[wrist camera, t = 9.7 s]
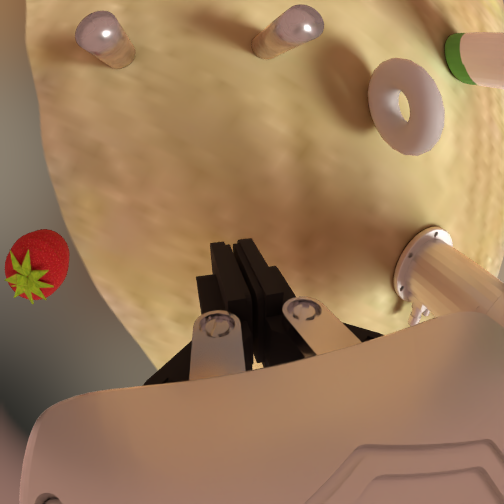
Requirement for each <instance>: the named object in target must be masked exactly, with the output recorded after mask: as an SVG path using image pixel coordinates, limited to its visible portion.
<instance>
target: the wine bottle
mask: <svg viewBox="0 0 504 504" xmlns="http://www.w3.org/2000/svg"><path fill="white" fill-rule="evenodd" d="M445 57H446V60H447V64H448V66H449V68H450V70H451V72H452V73H453V75H454V76H455V77H456V78H457V79H458V80H460V81H461V82H463V83H466V84H472V85H480V86H486V87H494V88H500V89H504V33H488V32H481V33H456V34H453V35H451V36H449V37H448V39H447V40H446V43H445Z"/></svg>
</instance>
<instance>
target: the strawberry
mask: <svg viewBox="0 0 504 504" xmlns="http://www.w3.org/2000/svg"><path fill="white" fill-rule="evenodd" d="M68 264H69V249H68V246H67V243H66V242H65V240H64V239H63V238H62V236H61V235H59V234H58V233H56V232H54V231H52V230H47V229H43V230H42V229H41V230H37V231H34V232H31V233H28V234H26V235H24V236H22V237H21V238H19V239H18V240H17V241H16V242H15V244H14V245H13V247H12V248H11V250H10V252H9V254H8V256H7V259H6V262H5V275H6V279H5V281H7V282H8V283H9V285H10V287H11V288H12V289H13V290H14V291H15V296H14V298H15V297H17V296H21V297H23V298H26V299H29V300H30V301H31V303H32V304H34V303H33V300H39V299H44V300H47V299H46V297H48V296H50V295H51V294H52V293H54V291H56V290H57V289H58V287H59V286H60V285H61V284H62V283H63V281H64V279H65V277H66V275H67V271H68Z"/></svg>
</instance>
